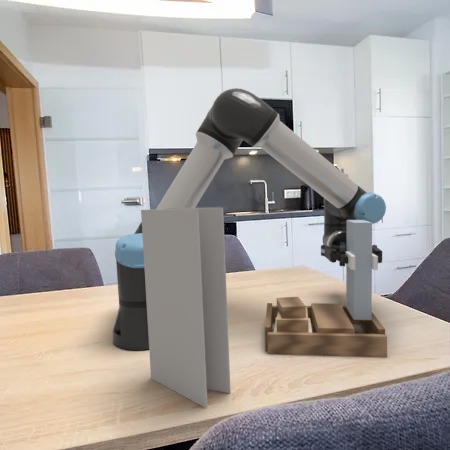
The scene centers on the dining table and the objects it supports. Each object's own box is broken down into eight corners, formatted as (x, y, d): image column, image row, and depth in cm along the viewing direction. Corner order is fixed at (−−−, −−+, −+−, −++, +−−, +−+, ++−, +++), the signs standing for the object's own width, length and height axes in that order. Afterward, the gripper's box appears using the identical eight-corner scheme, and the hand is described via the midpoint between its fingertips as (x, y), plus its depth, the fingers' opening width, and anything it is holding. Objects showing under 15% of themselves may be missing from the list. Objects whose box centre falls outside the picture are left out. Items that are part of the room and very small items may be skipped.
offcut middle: (277, 333, 76) (276, 319, 75) (279, 318, 84) (278, 306, 84) (308, 334, 74) (308, 320, 74) (307, 319, 83) (307, 306, 83)
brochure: (231, 392, 58) (223, 207, 55) (206, 408, 54) (197, 209, 51) (175, 366, 68) (166, 208, 65) (151, 378, 64) (140, 209, 61)
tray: (265, 353, 71) (264, 329, 71) (268, 321, 90) (267, 301, 89) (387, 357, 68) (387, 331, 68) (364, 322, 86) (364, 302, 86)
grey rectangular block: (353, 319, 74) (353, 222, 72) (346, 307, 81) (346, 220, 80) (371, 320, 73) (372, 222, 71) (362, 307, 81) (362, 219, 79)
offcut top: (282, 318, 76) (282, 307, 75) (276, 308, 83) (276, 297, 82) (305, 317, 76) (305, 306, 76) (298, 307, 83) (298, 296, 82)
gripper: (376, 260, 93) (408, 282, 70) (311, 260, 95) (321, 281, 72) (376, 231, 92) (409, 244, 69) (311, 232, 95) (321, 244, 72)
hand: (364, 263), depth 71 cm, fingers closed on grey rectangular block, 3 cm apart
